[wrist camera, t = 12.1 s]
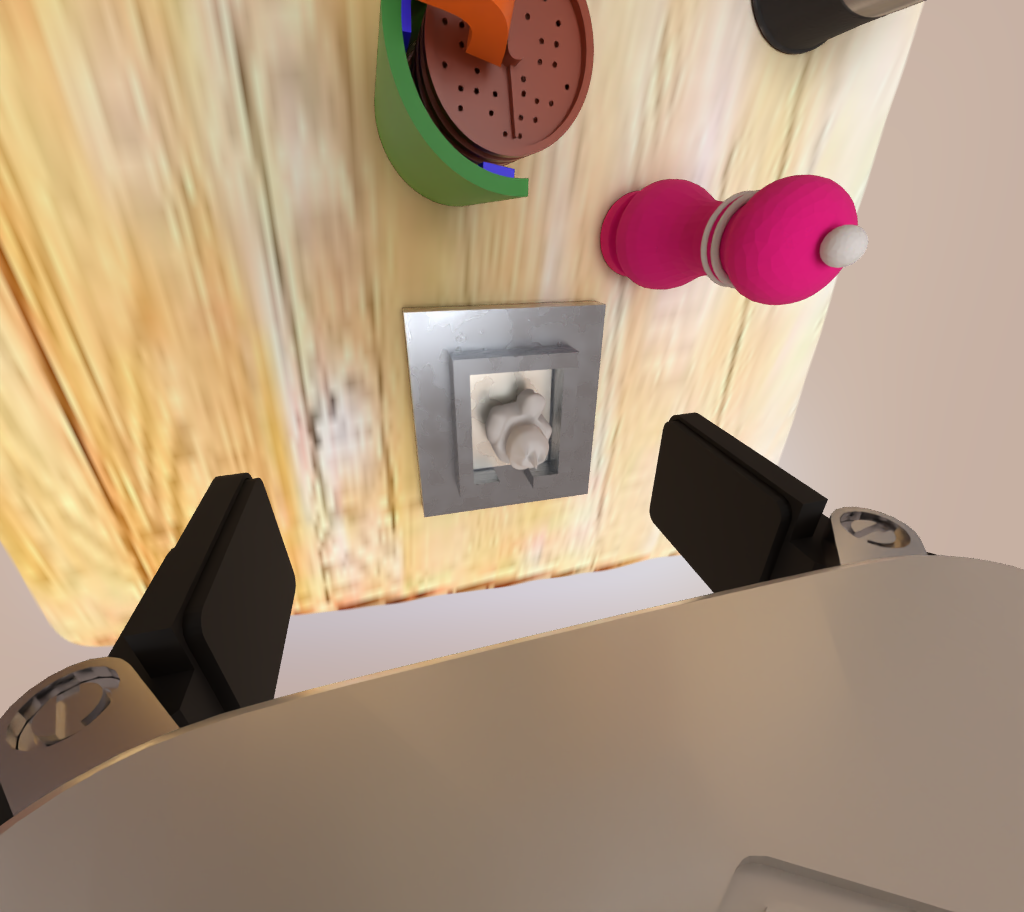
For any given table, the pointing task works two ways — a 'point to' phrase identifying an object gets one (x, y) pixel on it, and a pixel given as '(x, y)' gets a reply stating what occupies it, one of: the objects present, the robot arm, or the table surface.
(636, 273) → the pepper mill
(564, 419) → the plate
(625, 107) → the table surface
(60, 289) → the table surface
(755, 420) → the table surface
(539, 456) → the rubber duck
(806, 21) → the milk frother
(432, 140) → the green round disc holder
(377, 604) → the table surface
